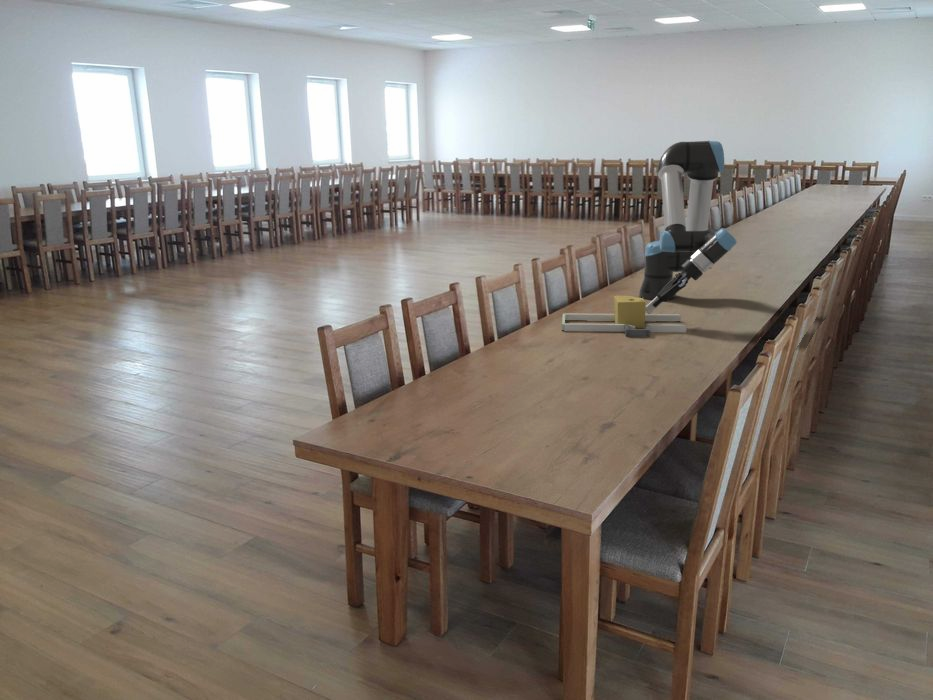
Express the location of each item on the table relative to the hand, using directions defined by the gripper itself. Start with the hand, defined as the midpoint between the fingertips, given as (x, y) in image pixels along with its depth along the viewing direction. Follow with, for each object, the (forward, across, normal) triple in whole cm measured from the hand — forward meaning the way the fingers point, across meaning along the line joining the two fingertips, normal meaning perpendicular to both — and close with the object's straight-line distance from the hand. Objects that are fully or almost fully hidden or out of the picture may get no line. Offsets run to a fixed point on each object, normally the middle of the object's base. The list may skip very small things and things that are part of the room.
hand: (646, 311), depth 272 cm
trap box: (+10, -2, +3) cm, 11 cm away
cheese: (+8, -1, +1) cm, 8 cm away
